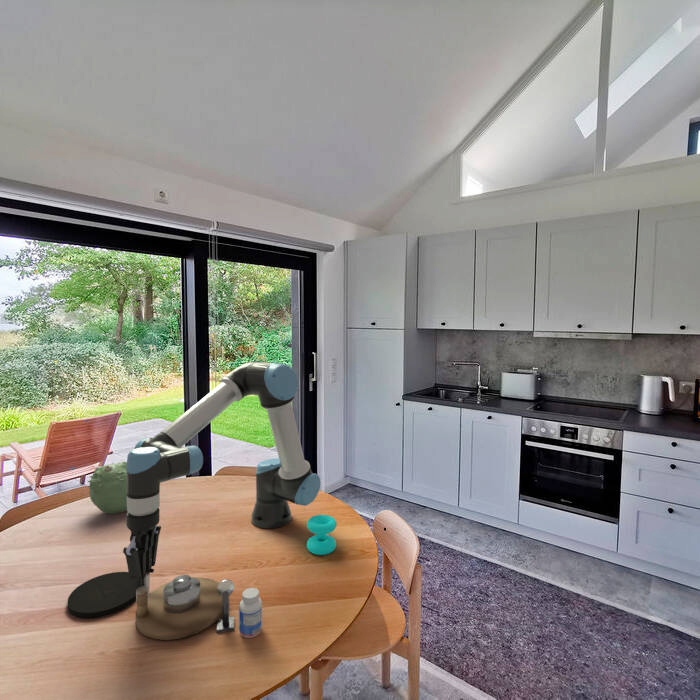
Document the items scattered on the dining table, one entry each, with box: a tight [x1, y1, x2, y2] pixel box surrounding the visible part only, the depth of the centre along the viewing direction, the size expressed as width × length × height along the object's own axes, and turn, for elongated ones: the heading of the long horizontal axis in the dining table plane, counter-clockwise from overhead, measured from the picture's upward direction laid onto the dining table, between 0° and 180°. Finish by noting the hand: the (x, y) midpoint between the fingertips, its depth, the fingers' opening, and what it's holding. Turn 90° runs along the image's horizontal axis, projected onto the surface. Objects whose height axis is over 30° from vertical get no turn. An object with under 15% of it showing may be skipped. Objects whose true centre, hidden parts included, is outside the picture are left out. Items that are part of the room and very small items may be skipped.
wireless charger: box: [67, 571, 137, 620], centre depth 115 cm, size 18×18×2 cm
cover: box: [163, 574, 200, 614], centre depth 110 cm, size 9×9×6 cm
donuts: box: [306, 514, 338, 556], centre depth 142 cm, size 10×10×10 cm
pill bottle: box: [238, 587, 263, 639], centre depth 103 cm, size 6×5×10 cm
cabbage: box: [87, 461, 127, 515], centre depth 166 cm, size 16×19×20 cm
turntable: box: [135, 577, 222, 641], centre depth 110 cm, size 22×22×8 cm
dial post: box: [216, 578, 235, 634], centre depth 105 cm, size 4×4×12 cm
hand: (142, 599), depth 108 cm, fingers closed
